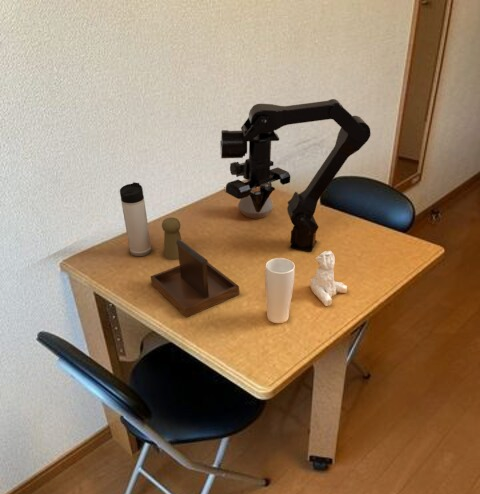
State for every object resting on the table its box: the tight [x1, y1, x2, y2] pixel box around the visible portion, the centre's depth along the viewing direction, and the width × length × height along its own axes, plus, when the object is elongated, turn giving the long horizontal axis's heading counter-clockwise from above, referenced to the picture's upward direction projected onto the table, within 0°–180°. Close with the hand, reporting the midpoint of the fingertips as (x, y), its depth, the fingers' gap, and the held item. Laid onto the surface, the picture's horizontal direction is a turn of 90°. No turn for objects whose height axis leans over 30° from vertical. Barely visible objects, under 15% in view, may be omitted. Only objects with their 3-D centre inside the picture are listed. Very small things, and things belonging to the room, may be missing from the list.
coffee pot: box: [223, 179, 274, 220], centre depth 157 cm, size 21×12×15 cm, turn 144°
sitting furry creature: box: [309, 249, 348, 307], centre depth 125 cm, size 10×9×12 cm
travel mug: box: [119, 181, 152, 257], centre depth 141 cm, size 6×7×20 cm
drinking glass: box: [264, 257, 296, 324], centre depth 116 cm, size 7×7×15 cm
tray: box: [150, 239, 240, 318], centre depth 127 cm, size 16×18×12 cm
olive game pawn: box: [161, 217, 182, 260], centre depth 142 cm, size 6×6×11 cm
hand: (257, 211), depth 140 cm, fingers closed
